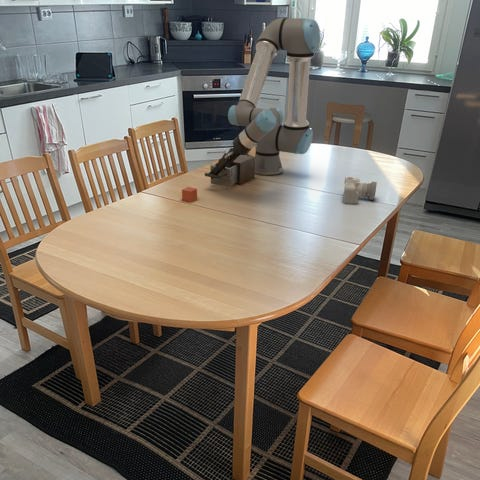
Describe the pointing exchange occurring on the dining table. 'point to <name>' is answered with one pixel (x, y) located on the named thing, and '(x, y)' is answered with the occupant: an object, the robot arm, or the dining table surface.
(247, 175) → the cabinet
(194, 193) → the block
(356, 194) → the digital camera
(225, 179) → the grey drawer
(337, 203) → the dining table surface
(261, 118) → the robot arm
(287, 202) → the dining table surface
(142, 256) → the dining table surface
